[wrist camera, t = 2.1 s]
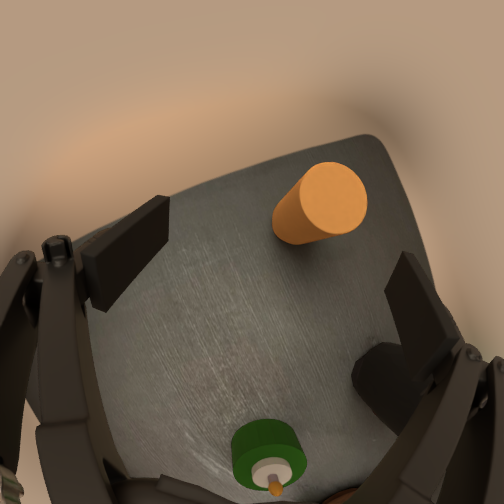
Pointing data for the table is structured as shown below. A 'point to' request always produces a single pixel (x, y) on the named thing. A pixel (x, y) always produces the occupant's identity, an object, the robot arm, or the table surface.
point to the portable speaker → (389, 385)
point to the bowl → (340, 496)
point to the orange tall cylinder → (321, 205)
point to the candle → (267, 456)
